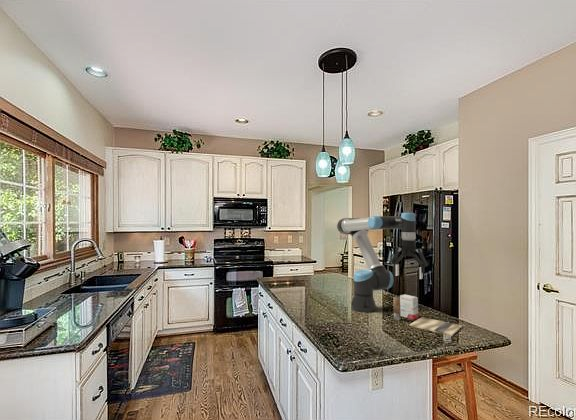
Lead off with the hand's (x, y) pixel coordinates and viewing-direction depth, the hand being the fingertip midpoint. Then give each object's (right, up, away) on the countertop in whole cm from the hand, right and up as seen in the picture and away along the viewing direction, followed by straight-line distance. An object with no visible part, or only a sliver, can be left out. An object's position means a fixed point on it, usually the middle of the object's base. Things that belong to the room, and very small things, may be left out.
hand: (408, 277), depth 171 cm
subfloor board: (+7, -22, -16) cm, 28 cm away
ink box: (0, -23, -1) cm, 23 cm away
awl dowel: (-9, -22, -6) cm, 25 cm away
